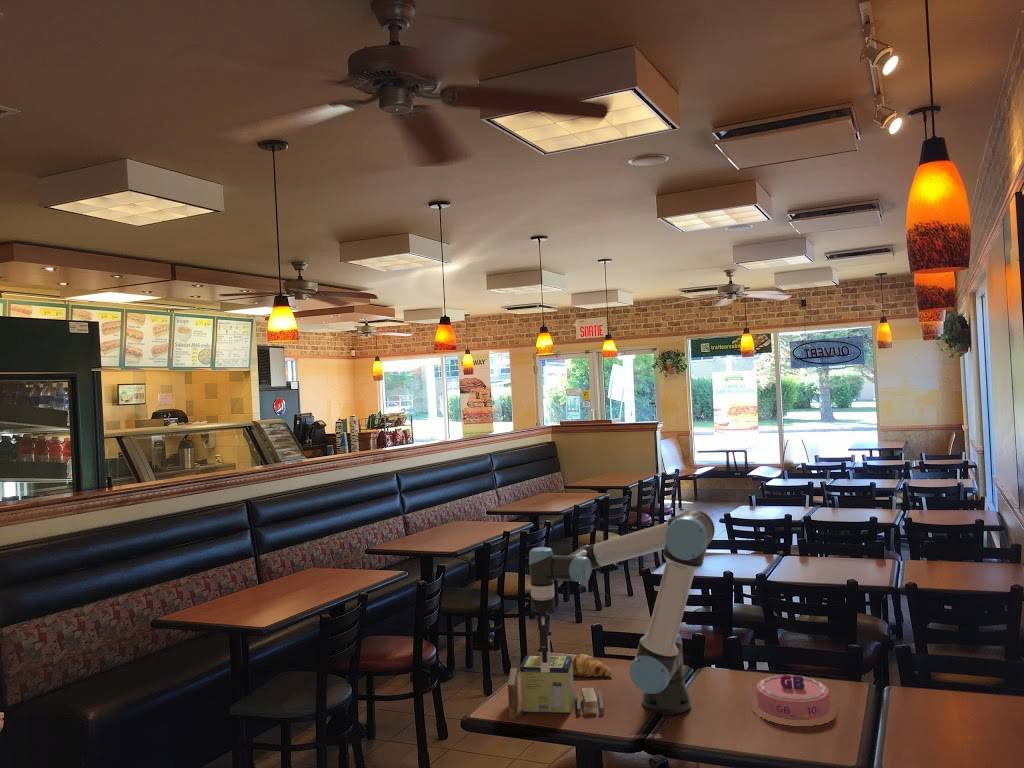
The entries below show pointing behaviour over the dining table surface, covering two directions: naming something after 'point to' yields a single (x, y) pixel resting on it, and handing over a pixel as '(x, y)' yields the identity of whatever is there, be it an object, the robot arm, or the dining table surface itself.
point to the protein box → (547, 686)
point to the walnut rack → (515, 700)
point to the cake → (793, 697)
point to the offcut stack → (589, 700)
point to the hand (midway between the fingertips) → (545, 664)
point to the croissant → (589, 666)
